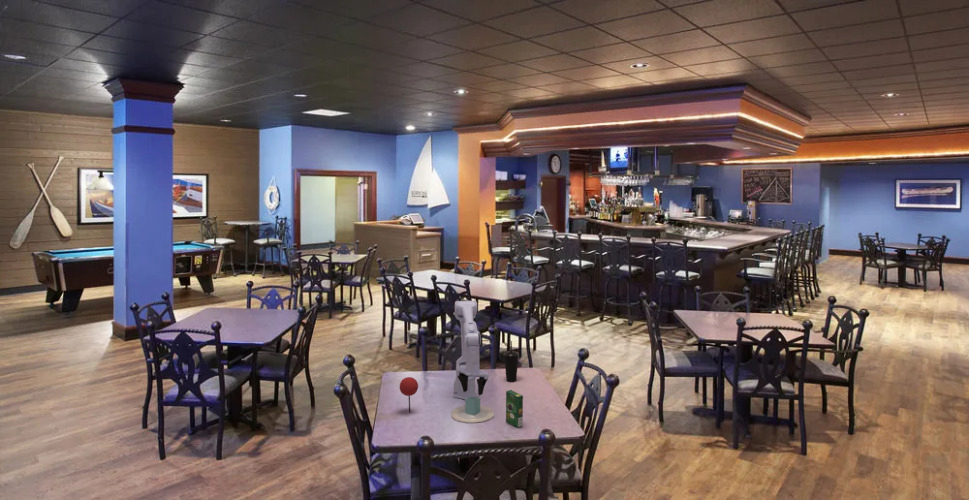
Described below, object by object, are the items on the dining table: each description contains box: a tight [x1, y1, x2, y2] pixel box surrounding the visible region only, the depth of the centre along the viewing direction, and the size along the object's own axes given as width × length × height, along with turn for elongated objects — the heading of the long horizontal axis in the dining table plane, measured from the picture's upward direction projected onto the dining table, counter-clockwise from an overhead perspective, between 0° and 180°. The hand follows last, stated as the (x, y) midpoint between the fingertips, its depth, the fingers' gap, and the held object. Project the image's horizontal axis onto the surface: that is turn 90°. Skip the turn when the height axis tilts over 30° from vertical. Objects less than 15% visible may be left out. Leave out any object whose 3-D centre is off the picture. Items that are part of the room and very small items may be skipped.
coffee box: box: [505, 389, 524, 429], centre depth 234 cm, size 8×3×13 cm, turn 35°
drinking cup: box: [502, 340, 520, 383], centre depth 288 cm, size 8×8×20 cm
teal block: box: [464, 396, 481, 415], centre depth 245 cm, size 4×4×6 cm
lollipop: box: [399, 376, 419, 413], centre depth 249 cm, size 8×8×15 cm
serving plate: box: [450, 405, 495, 424], centre depth 245 cm, size 18×18×1 cm
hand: (472, 392), depth 245 cm, fingers open, 7 cm apart
